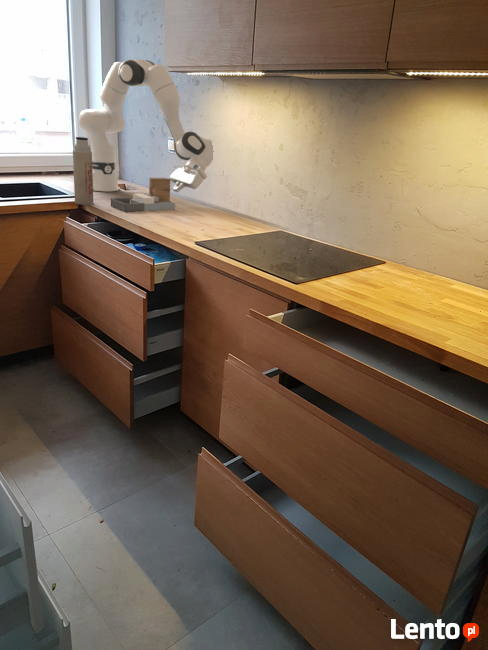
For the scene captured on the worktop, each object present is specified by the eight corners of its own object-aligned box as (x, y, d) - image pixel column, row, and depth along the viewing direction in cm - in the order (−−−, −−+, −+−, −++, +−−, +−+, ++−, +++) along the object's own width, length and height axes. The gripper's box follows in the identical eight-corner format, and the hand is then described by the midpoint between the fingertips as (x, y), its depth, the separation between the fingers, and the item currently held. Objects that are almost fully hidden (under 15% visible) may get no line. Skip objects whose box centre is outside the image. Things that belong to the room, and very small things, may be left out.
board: (130, 205, 227) (130, 199, 226) (160, 204, 237) (161, 198, 236) (143, 210, 219) (144, 204, 218) (174, 209, 229) (174, 202, 228)
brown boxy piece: (143, 198, 230) (143, 176, 226) (160, 198, 236) (160, 176, 232) (156, 203, 222) (157, 180, 218) (173, 202, 227) (174, 180, 224)
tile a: (132, 199, 226) (132, 193, 225) (142, 199, 229) (142, 193, 228) (138, 201, 222) (138, 195, 221) (147, 201, 226) (148, 195, 225)
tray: (110, 206, 222) (110, 198, 220) (129, 205, 228) (129, 197, 226) (124, 212, 213) (124, 204, 211) (144, 211, 218) (144, 203, 217)
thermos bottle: (97, 203, 224) (95, 138, 213) (82, 205, 218) (79, 137, 207) (86, 200, 228) (84, 136, 217) (71, 202, 222) (68, 135, 211)
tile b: (138, 201, 222) (138, 196, 221) (148, 201, 225) (148, 195, 224) (144, 203, 219) (144, 198, 218) (154, 203, 222) (154, 197, 221)
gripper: (177, 161, 240) (159, 182, 237) (202, 167, 226) (183, 189, 224) (184, 171, 244) (167, 191, 242) (209, 177, 230) (190, 199, 228)
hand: (175, 190), depth 233 cm, fingers closed
